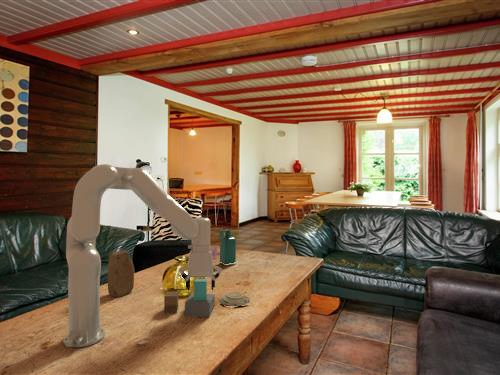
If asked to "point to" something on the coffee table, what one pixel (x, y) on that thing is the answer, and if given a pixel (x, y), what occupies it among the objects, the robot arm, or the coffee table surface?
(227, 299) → the grey stepped disc
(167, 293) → the walnut block
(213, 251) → the lily
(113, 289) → the brown rounded oval lump
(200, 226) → the robot arm
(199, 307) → the base block
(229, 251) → the green bottle
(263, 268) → the coffee table surface
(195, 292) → the teal block
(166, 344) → the coffee table surface
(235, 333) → the coffee table surface
